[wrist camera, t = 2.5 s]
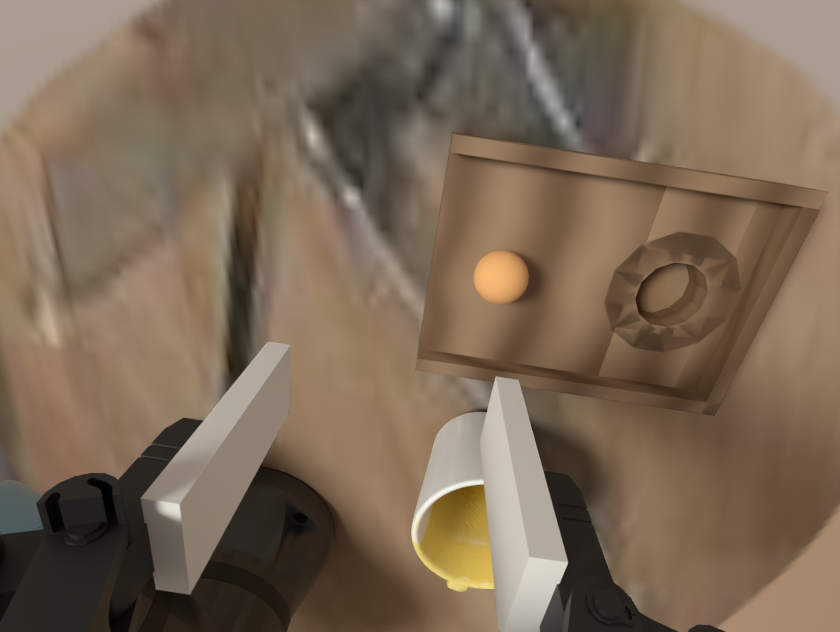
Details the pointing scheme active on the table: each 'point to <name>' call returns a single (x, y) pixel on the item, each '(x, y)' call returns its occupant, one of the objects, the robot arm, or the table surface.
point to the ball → (501, 277)
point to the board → (605, 272)
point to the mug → (455, 508)
